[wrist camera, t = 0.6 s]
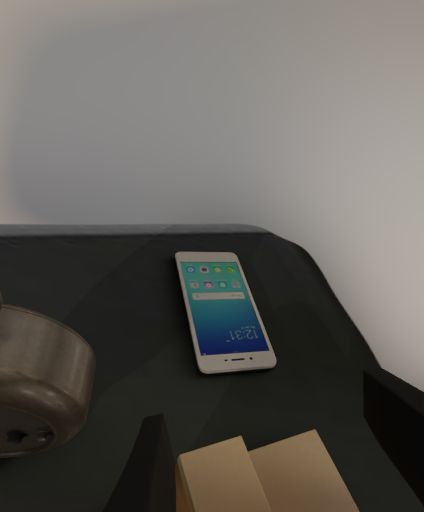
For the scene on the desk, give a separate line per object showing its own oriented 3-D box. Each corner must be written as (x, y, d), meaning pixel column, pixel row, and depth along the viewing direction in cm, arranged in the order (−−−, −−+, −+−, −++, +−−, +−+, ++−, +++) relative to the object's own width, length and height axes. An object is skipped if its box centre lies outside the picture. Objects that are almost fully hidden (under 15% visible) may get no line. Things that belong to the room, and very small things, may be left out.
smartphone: (236, 252, 44) (280, 365, 33) (234, 257, 44) (277, 370, 34) (173, 251, 41) (199, 372, 31) (172, 256, 42) (197, 378, 31)
